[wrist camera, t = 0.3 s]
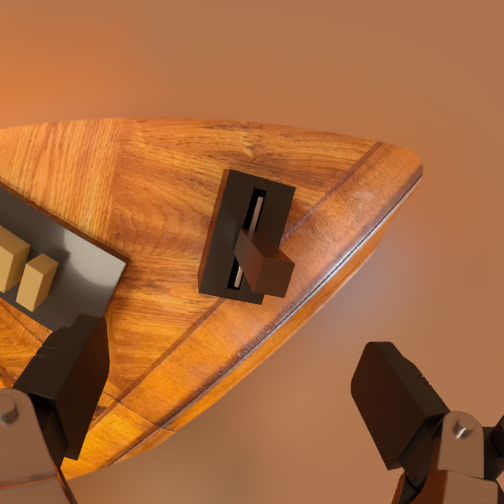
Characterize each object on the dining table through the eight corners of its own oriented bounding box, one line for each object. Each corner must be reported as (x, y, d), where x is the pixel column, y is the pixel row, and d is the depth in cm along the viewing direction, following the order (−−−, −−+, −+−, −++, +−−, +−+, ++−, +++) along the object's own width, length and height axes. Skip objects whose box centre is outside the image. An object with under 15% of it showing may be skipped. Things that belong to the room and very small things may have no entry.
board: (-34, 264, 28) (-40, 267, 26) (-9, 174, 26) (-16, 175, 25) (91, 345, 33) (88, 351, 32) (129, 258, 32) (126, 262, 30)
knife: (219, 264, 33) (239, 335, 19) (239, 189, 32) (277, 206, 18) (237, 268, 34) (270, 340, 20) (258, 194, 32) (309, 215, 18)
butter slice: (31, 287, 29) (15, 301, 25) (42, 252, 28) (26, 263, 24) (47, 297, 29) (32, 312, 26) (59, 262, 29) (43, 274, 25)
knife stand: (197, 275, 33) (198, 292, 29) (224, 169, 31) (229, 169, 26) (252, 286, 35) (261, 305, 30) (281, 184, 32) (295, 187, 28)
